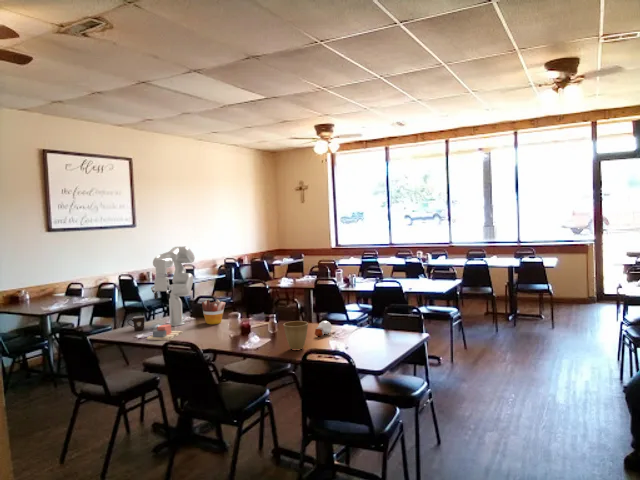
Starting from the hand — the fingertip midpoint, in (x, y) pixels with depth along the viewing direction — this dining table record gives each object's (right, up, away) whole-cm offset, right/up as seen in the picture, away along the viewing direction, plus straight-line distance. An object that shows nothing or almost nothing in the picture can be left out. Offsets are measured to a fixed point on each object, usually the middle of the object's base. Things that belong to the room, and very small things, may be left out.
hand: (162, 299), depth 361 cm
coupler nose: (+4, -24, -19) cm, 31 cm away
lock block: (+6, -23, -13) cm, 27 cm away
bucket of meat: (+31, -23, +28) cm, 48 cm away
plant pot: (+100, -24, -58) cm, 118 cm away
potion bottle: (+117, -22, -23) cm, 122 cm away
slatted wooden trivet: (+6, -25, -12) cm, 28 cm away
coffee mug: (-22, -25, +10) cm, 35 cm away
